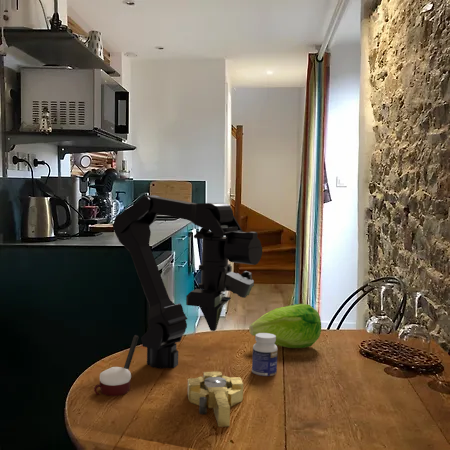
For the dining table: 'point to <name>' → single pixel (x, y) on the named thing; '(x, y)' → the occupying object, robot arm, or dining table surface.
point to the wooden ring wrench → (217, 395)
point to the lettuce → (290, 325)
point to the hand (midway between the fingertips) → (213, 330)
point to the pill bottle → (264, 355)
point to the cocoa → (117, 376)
